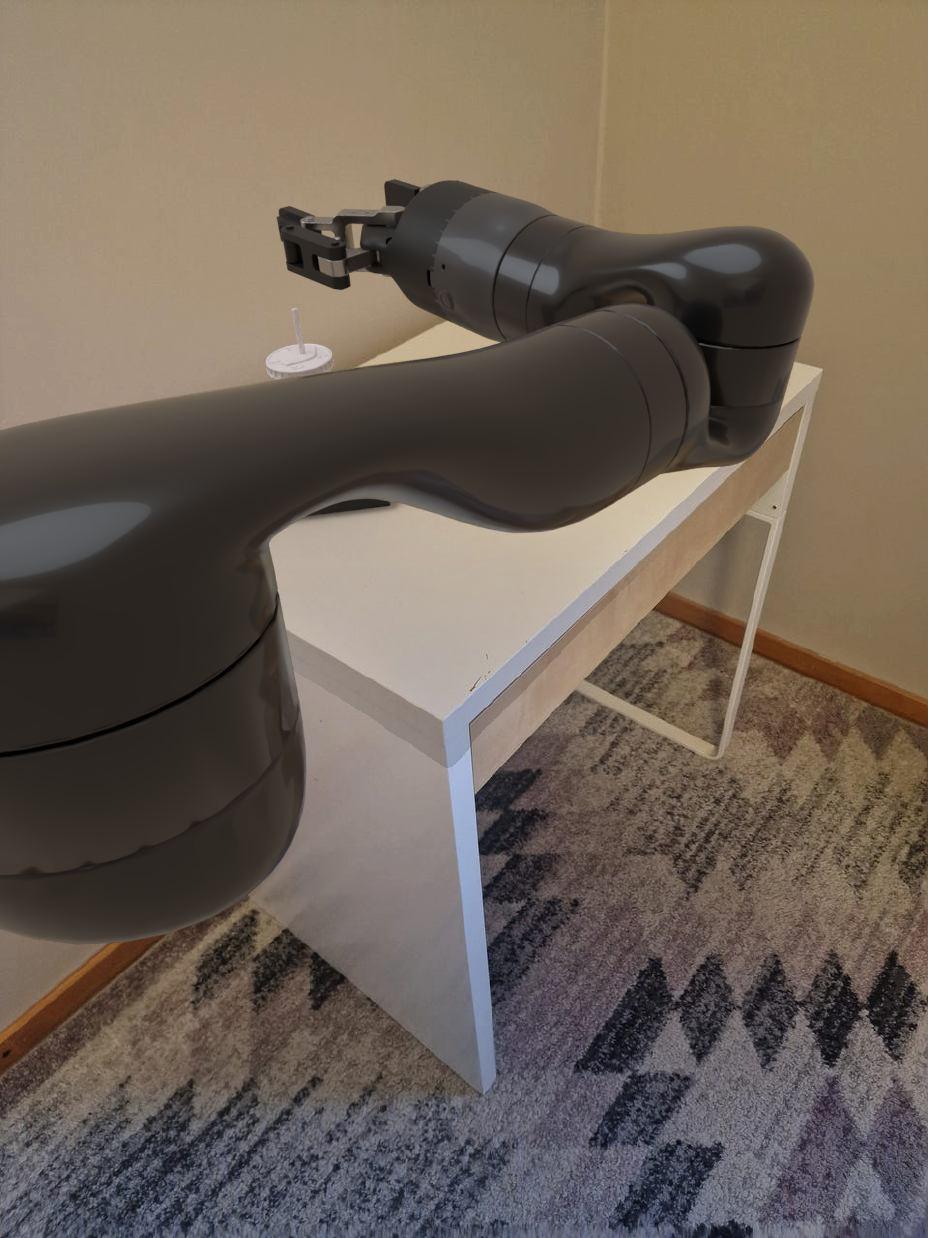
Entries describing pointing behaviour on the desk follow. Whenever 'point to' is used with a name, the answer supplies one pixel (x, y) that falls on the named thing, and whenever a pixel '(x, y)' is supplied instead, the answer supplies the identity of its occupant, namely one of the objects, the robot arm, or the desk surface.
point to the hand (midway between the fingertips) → (338, 208)
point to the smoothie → (299, 357)
